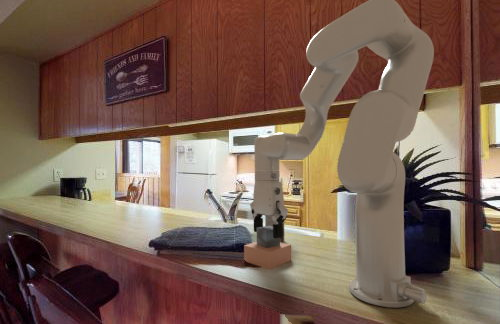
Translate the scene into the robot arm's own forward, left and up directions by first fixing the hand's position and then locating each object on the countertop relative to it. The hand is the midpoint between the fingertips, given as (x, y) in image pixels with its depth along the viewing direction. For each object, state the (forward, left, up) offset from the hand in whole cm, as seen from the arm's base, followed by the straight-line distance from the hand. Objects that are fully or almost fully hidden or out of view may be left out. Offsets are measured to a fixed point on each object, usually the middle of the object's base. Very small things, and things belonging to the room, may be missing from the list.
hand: (267, 234), depth 80 cm
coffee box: (+14, -14, -8) cm, 21 cm away
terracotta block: (0, 0, -8) cm, 8 cm away
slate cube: (0, 0, -3) cm, 3 cm away
